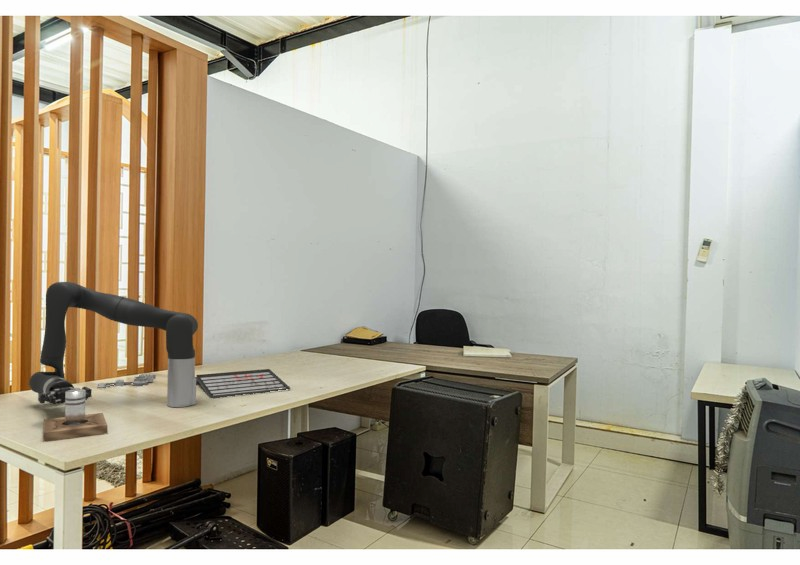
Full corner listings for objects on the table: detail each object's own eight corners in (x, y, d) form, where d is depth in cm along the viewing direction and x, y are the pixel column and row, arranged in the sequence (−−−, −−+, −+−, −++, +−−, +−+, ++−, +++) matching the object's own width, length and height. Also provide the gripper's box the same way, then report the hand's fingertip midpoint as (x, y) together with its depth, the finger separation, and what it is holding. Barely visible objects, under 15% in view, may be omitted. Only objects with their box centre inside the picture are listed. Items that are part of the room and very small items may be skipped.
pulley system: (171, 382, 241) (148, 376, 247) (171, 371, 240) (148, 366, 247) (115, 396, 216) (91, 390, 223) (115, 385, 216) (91, 378, 222)
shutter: (288, 403, 226) (264, 380, 252) (290, 387, 225) (266, 365, 252) (210, 409, 209) (192, 383, 235) (211, 391, 208) (194, 367, 234)
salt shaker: (84, 426, 168) (85, 388, 168) (85, 431, 164) (86, 391, 164) (64, 429, 166) (64, 390, 165) (65, 433, 161) (65, 393, 161)
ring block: (102, 420, 176) (102, 412, 176) (107, 433, 162) (107, 425, 162) (43, 427, 167) (43, 419, 167) (43, 441, 154) (43, 432, 154)
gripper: (33, 381, 176) (43, 390, 164) (82, 376, 185) (95, 384, 174) (32, 404, 176) (43, 414, 164) (82, 397, 186) (95, 407, 174)
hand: (70, 399), depth 169 cm, fingers open, 8 cm apart
